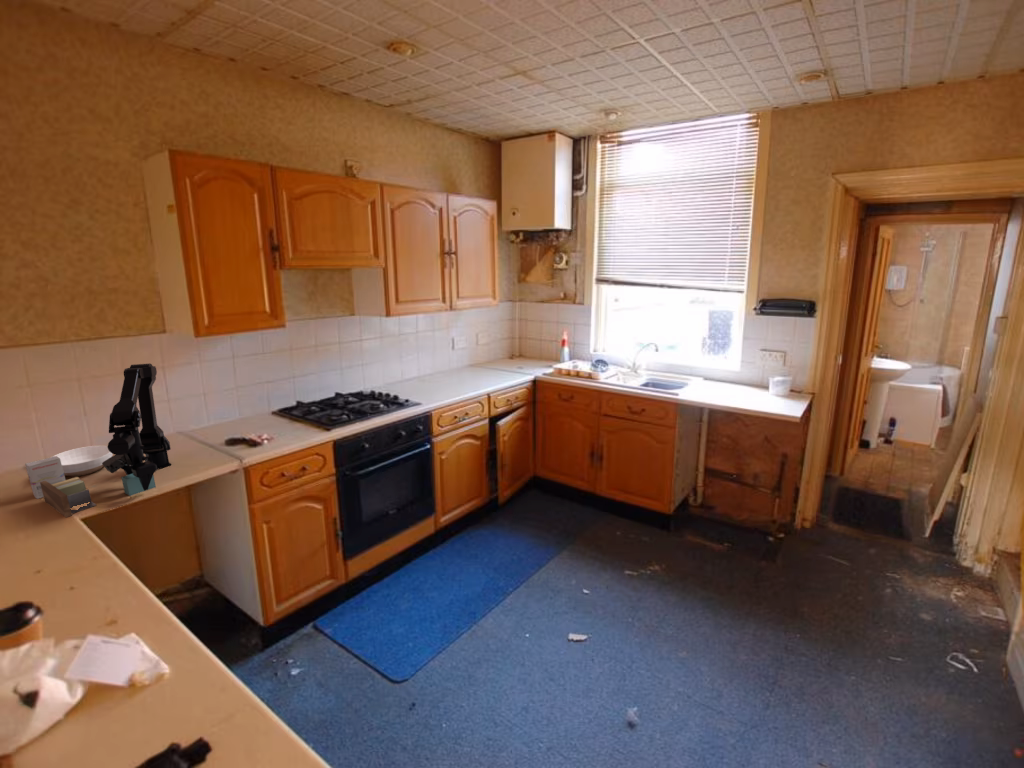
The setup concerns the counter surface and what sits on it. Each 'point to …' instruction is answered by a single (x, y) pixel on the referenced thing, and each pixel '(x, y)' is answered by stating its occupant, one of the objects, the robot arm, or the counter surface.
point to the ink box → (44, 473)
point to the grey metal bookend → (80, 500)
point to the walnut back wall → (56, 498)
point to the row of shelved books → (70, 486)
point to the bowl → (83, 460)
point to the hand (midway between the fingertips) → (139, 486)
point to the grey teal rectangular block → (135, 484)
